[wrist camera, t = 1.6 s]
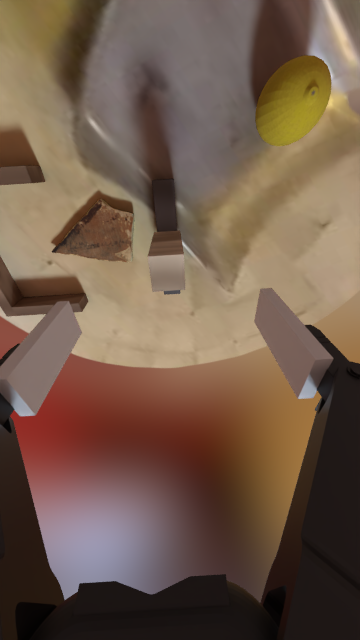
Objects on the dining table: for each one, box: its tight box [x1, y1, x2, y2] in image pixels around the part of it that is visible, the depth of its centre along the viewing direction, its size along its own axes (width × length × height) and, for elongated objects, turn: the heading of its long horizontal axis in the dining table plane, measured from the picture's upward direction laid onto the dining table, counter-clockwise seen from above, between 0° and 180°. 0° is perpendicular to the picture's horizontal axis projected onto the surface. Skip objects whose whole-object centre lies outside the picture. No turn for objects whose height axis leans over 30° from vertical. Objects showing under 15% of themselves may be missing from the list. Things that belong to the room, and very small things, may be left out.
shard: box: [52, 198, 134, 262], centre depth 28 cm, size 11×8×2 cm
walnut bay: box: [0, 166, 88, 316], centre depth 28 cm, size 18×12×3 cm, turn 3°
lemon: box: [255, 55, 331, 146], centre depth 19 cm, size 6×6×8 cm
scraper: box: [148, 179, 185, 294], centre depth 24 cm, size 14×3×12 cm, turn 3°
